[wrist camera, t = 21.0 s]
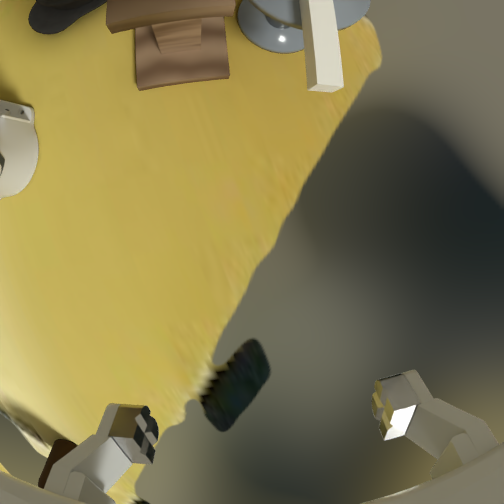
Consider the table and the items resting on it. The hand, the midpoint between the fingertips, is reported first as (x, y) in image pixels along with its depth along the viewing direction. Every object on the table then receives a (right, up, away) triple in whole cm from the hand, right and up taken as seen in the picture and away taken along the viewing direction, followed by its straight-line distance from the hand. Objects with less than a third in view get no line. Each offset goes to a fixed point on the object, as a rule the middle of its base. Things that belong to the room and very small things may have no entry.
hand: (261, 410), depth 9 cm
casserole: (-31, +54, +22) cm, 66 cm away
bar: (+7, +35, +17) cm, 39 cm away
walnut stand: (-12, +39, +29) cm, 50 cm away
